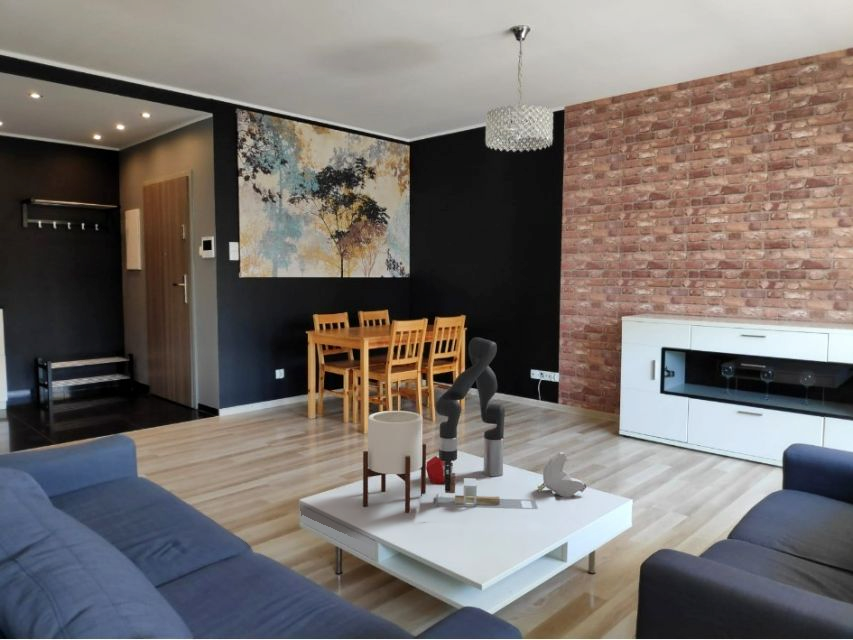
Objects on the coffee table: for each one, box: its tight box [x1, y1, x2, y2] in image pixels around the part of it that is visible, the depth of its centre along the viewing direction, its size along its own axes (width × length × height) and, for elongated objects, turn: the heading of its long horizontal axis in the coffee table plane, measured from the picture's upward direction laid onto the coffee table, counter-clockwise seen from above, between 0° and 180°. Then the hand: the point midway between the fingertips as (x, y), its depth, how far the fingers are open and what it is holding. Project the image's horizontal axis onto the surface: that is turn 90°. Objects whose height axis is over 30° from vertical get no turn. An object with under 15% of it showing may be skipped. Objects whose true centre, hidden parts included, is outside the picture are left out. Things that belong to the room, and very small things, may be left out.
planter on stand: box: [362, 410, 427, 514], centre depth 248 cm, size 22×22×36 cm
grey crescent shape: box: [537, 451, 587, 497], centre depth 258 cm, size 7×19×20 cm
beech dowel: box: [454, 495, 501, 505], centre depth 244 cm, size 2×18×2 cm, turn 87°
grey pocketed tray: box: [434, 477, 539, 510], centre depth 244 cm, size 10×41×10 cm, turn 87°
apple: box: [426, 455, 445, 486], centre depth 274 cm, size 12×12×15 cm
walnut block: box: [444, 472, 456, 494], centre depth 244 cm, size 4×4×7 cm
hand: (447, 488), depth 245 cm, fingers closed on walnut block, 4 cm apart
